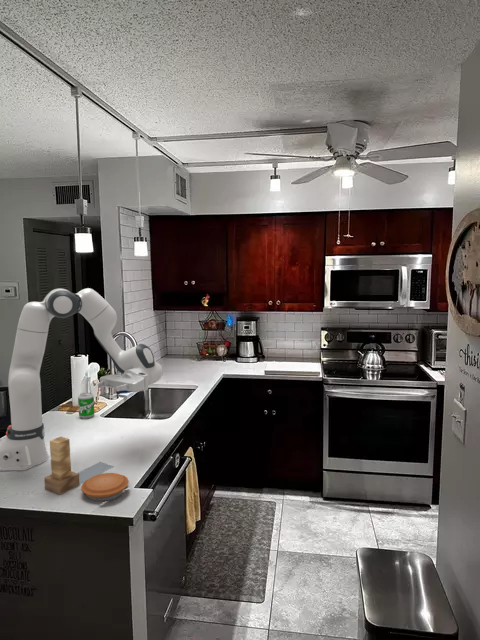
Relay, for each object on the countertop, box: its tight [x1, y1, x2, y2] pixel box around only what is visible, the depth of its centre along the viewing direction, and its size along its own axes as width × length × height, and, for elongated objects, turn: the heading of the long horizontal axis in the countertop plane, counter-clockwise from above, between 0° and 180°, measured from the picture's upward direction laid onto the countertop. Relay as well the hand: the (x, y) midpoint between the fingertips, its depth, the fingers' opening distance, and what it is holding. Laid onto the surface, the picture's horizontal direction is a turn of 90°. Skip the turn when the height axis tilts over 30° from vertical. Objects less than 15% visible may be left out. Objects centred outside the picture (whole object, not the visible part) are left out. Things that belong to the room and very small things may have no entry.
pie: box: [81, 472, 130, 503], centre depth 153 cm, size 15×16×5 cm
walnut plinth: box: [43, 470, 81, 495], centre depth 156 cm, size 8×8×4 cm
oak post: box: [49, 436, 72, 480], centre depth 155 cm, size 4×4×13 cm
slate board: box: [61, 461, 116, 495], centre depth 163 cm, size 24×8×1 cm, turn 149°
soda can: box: [77, 392, 95, 420], centre depth 229 cm, size 8×8×12 cm
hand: (107, 387), depth 175 cm, fingers open, 8 cm apart
